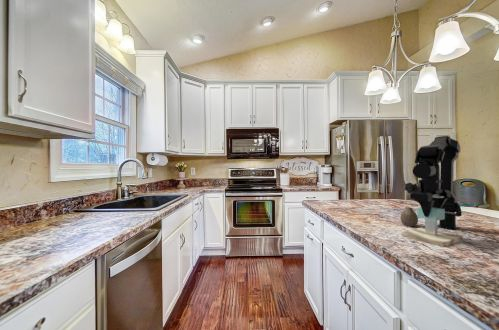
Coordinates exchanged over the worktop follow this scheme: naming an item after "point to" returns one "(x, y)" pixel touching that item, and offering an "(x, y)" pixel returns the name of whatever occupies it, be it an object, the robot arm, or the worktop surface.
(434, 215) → the teal open cube
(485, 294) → the worktop surface
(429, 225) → the grey rectangular peg
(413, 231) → the board
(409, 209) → the vase
